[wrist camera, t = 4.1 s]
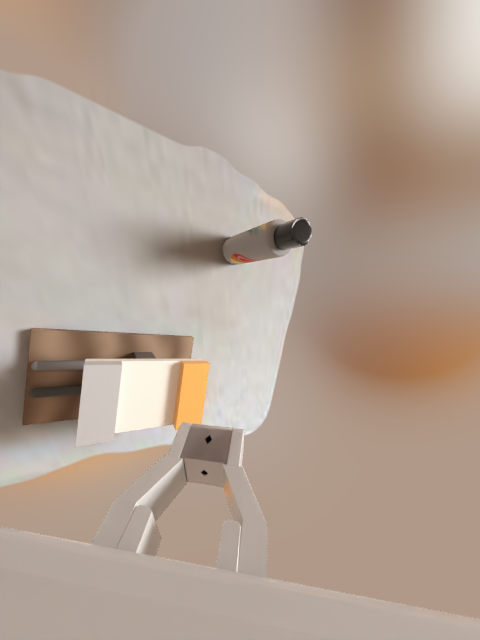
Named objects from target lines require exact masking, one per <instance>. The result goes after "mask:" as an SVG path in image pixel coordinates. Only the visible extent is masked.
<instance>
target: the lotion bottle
mask: <svg viewBox="0 0 480 640" xmlns="http://www.w3.org/2000/svg"><path fill="white" fill-rule="evenodd" d="M311 234H312V231H311V227H310V224H309V222H308V220H307V219H305V218H297V219H294V220H292V221H289V222H285V221H283V220H280V219H277V220H273V221H270V222H268V223H265V224H263V225H260V226H258V227H255V228H253V229H250V230H248V231H245V232H243V233H240V234H238V235H235V236H233V237H231V238H229V239H227V240H226V241H225V243H224V245H223V255H224V257H225V259H226V260H227V261H228V262H229V263H231V264H243V263H248V262H254V261H260V260H265V259H271V258H277V257H281V256H284V255H286V254H288V253H289V251H290V250H291V249H292V248H296V247H301V246H305V245H306V244H307V243H308V241H309V240H310V238H311Z"/></svg>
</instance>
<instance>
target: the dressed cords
mask: <svg viewBox="0 0 480 640" xmlns="http://www.w3.org/2000/svg"><path fill="white" fill-rule="evenodd" d="M84 363H85V360H61V361H35V362H33V363H32V365H31V368H32V369H33V370H35V371H43V370H83V369H84ZM81 389H82V385H79V386H60V387H41V388H33V389H31V390H30V391H29V396H30V397H31V398H42V397H56V396H70V395H81Z"/></svg>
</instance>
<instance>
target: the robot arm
mask: <svg viewBox="0 0 480 640" xmlns="http://www.w3.org/2000/svg"><path fill="white" fill-rule="evenodd" d="M243 446H244V429H234V428H229V427H219V426H208V425H201V424H194V423H187V422H182V424H181V425H180V427H179V429H178V432H177V434H176V437H175V439H174V441H173V444H172V446H171V449H170V451H169V454H168V456H164V457H162V458H161V459H160V460H159V461H158V462H157V463H155V464H154V465H153V466H152V467H151V468H150V469H149V470H147V471H146V472H145V473H144V474H143V475H142V476H141V477H140V478H138V480H136V481H135V482H134V483H133V484H132V485H130V486H129V487H128V488H127V489H126V490H125V491H124V492H123V493H121V494H120V495H119V496H118V497H117V498H116V499H115V500H114V502H113V504H112V505H111V507H110V509H109V511H108V513H107V515H106V517H105V518H104V520H103V522H102V524H101V526H100V528H99V530H98V532H97V533H96V535H95V537H94V539H93V541H92V543H91V544H89V543H84V542H79V541H74V540H69V539H63V538H58V537H53V536H48V535H42V534H37V533H32V532H27V531H22V530H16V529H11V528H6V527H1V526H0V640H480V619H478V618H472V617H467V616H462V615H457V614H452V613H446V612H441V611H436V610H431V609H426V608H421V607H415V606H410V605H405V604H400V603H395V602H389V601H384V600H379V599H374V598H369V597H363V596H358V595H353V594H348V593H343V592H337V591H333V590H327V589H322V588H317V587H312V586H307V585H301V584H296V583H291V582H286V581H281V580H276V579H270V578H267V523H266V521H265V519H264V517H263V514H262V512H261V509H260V507H259V504H258V502H257V500H256V497H255V495H254V493H253V490H252V488H251V485H250V483H249V481H248V478H247V476H246V474H245V471H244V469H243V467H242V458H243ZM187 482H193V483H200V484H207V485H213V486H218V487H223V488H224V490H225V494H226V497H227V501H228V504H229V508H230V511H231V514H232V518H233V521H231V520H226V521H225V522H224V523H223V526H222V533H221V539H220V545H219V551H218V557H217V563H216V568H213V567H208V566H203V565H198V564H193V563H188V562H182V561H177V560H172V559H167V558H162V557H156V554H157V551H158V548H159V545H160V541H161V535H160V532H159V530H158V527H157V525H156V520H157V519H158V518H159V517H160V515H161V514H162V513H163V512H164V511H165V509H166V508H167V507H168V506H169V505H170V503H171V502H172V501H173V500H174V498H175V497H176V496H177V495H178V494H179V493H180V491H181V490H182V489H183V488H184V486H185V485H186V484H187Z"/></svg>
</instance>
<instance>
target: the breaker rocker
mask: <svg viewBox="0 0 480 640" xmlns="http://www.w3.org/2000/svg"><path fill="white" fill-rule="evenodd" d="M208 371H209V363H208V362H207V361H205V360H204V359H85V363H84V369H83V379H82V389H81V398H80V408H79V417H78V427H77V437H76V446H75V447H79V446H85V445H90V444H96V443H102V442H108V441H114V434H115V433H120V432H127V431H133V430H140V429H146V428H152V427H159V426H165V425H171V424H173V426H174V428H175V430H178V429H179V427H180V425H181V424H182V422H187V423H194V424H201V422H202V415H203V407H204V400H205V393H206V385H207V378H208Z"/></svg>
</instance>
